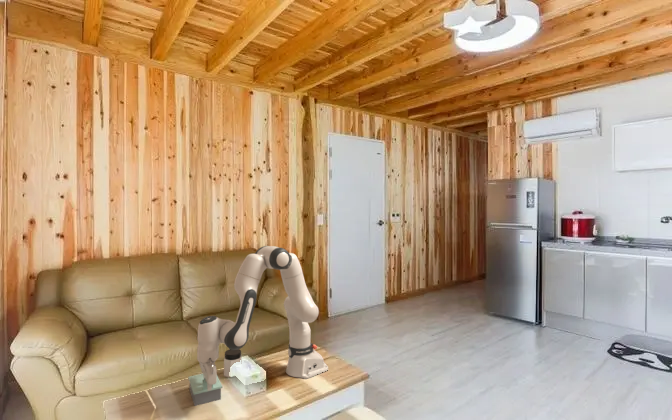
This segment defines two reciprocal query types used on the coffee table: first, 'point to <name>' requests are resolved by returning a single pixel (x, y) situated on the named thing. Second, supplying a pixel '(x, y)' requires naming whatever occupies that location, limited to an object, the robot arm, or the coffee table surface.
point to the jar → (231, 360)
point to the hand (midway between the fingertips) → (207, 385)
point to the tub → (205, 396)
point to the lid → (202, 384)
